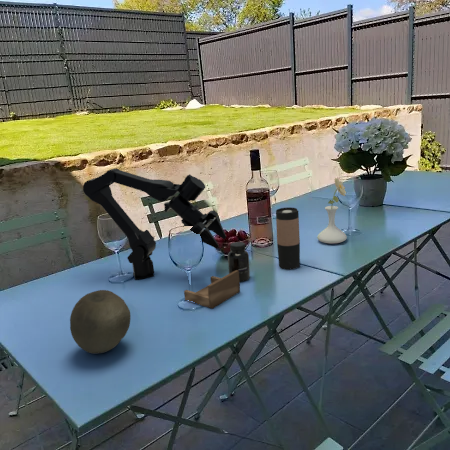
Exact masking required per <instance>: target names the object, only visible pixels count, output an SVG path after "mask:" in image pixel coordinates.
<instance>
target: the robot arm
mask: <svg viewBox="0 0 450 450" xmlns="http://www.w3.org/2000/svg"><path fill="white" fill-rule="evenodd" d="M114 183H115V184H118V185H122V186H125V187H128V188H131V189H135V190H137V191H141V192H143V193H146V194H147V195H148V196H149V197H150V198H152V199H155V200H156V201H159V202H165V201H167V200H169V199H170V198H171V199H170V200H169V201H167V202H165V203H163V206H164V212H165V213H167V212H169V211H170V210H172V211H173V212H174V213H175V214H176V215H178V216H179V218H181V220H180V222H181V224H183V226H182V228H183V227H184V226H193V227H192V228H191V229H190V230H191V231H193V232H194V233H196V234H200V236H201V238H202V243H204V244H206V245H209V246H210V247H212V248H214V249H218V248H220V246H219V244H218V242H217V240H216V239H215V237H214V236H213V234H212V233H211V232H213V233H214V234H215V235H217V236H218V237H219V238H221V239H223V240H225V239H226V238H227V235H226V233H225V231H224V229H223V226H222V223H221V221H220V219H219V218H220V217H219V213H218V212H217V211H215V210H209V211H208V212H207V213H204V214H203V212H201V210H200V209H198V208H199V206H198V205H197V204H195V205H193V203H191V201H192V202H195V201H196V200H197V199H198V197H199V196H200V195H201V194H202V193H203V191H204V190H205V189H206V184H205V183H204V182H203V180H201V179H200V178H197V177H196V176H192V175H191V174H188V175H186V177H185V178H184V179H183V181H182V182H181V184H179V183H178V184H177V183H173V182H172V181H170V180H168V179H167V180H165V179H152V178H151V179H150V178H147V177H144V176H141V175H137V174H134V173H130V172H127V171H124V170H120V169H118V168H116V167H115V168H112V169H109V170H107V171H106V172H105V173H103V174H101V175H100V176H98V177H95V178H92V179H88V180H86V181H85V182H84V183H83V186H82V192H83V193H84V195H85V196H86V197H88V199H90V200H91V202H94V203H95V204H98V205H99V206H101V207H102V208H103V209H104V211H105V212H106V213H107V214H108V216H109V217H110V218H111V219H112V220H113V222H114V223H115V224H116V226H118V228H119V229H120V230H121V231H122V233H123V234H124V235H125V236H126V238H127V241H128V243H129V247H130V249H131V253H130V254H129V255H128V256H127V257H126V258H127V260H128V263H130V264H131V265H132V271H133V272H132V274H133V277H134V280H141V279H142V280H143V279H147V278H151V277H155V274H154V273H155V268H154V261H153V260H152V258H151V256H152V255H153V252H154V251H155V250H156V248H157V247H156V246H157V245H156V244H157V242H156V240H155V237H154V236H153V235H152V234H151V232H150V231H149V230H148V229H145V230H142V229H140V228H139V227H138V226H137V224H136V223H135V222H134V221H133V220H132V219H131V217H130V216H129V215H128V214H127V212H126V211H125V210H124V209H123V208H122V206H121V205H120V204H119V202H118V201H117V200H116V199H115V198H114V196H113V192H112V189H111V187H110V186H111V185H113V184H114ZM176 194H178V195H177V196H175V195H176Z"/></svg>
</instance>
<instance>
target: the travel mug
mask: <svg viewBox="0 0 450 450" xmlns="http://www.w3.org/2000/svg"><path fill="white" fill-rule="evenodd" d="M299 219H300V218H299V210H298V208H296V207H281V208H278V209H276V210H275V220H276V222H275V224H276V227H275V228H276V245H277V246H276V247H277V258H278V267H279V268H280V269H282V270H285V271H288V270H289V271H290V270H297V269H299V268H300V265H301V259H300V258H301V255H300V254H301V246H300V244H301V239H300V220H299Z"/></svg>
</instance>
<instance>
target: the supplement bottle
mask: <svg viewBox="0 0 450 450" xmlns="http://www.w3.org/2000/svg"><path fill="white" fill-rule="evenodd" d="M229 246H230V249H229V250H230V251H229V252H228V254H227V261H228V262H227V265H228V274H230V273H232V272H233V271H235V270H238V271H239V282H240V283H243V282H246V281H248V280H249V279H250V276H251V273H250V256H249V252H248V251H247V250H246V243H245V242H242V241H236V242H235V241H234V242H232V243H230V245H229Z"/></svg>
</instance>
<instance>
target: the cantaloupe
mask: <svg viewBox="0 0 450 450" xmlns="http://www.w3.org/2000/svg"><path fill="white" fill-rule="evenodd" d="M130 310H131V309H130V308H129V307H128V305H127V303H126V302H125V300H124V299H123V298H122V297H121V296H119V295H118V294H116V293H114V292H113V291H110V290H107V289H98V290H95V291H92V292H89V293H87V294H85V295H83V296H82V297H81V298H79V300H78V301H77V302H76V303H75V304H74V306H73V308H72V311H71V314H70V317H69V322H70V323H69V324H70V325H69V328H70V329H69V330H70V334H71V336H72V339H73V340H74V342H75V343H76V344H77V345H78V347H79V348H81V349H82V350H83V351H85V352H86V353H90V354H95V355H96V354H104V353H107V352H109V351H111V350H113V349H114V348H116V347H117V345H119V344H120V342H121V341H122V339H123V338H125V336H126V334H127V333H128V331H129V328H130V325H131V311H130Z"/></svg>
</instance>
